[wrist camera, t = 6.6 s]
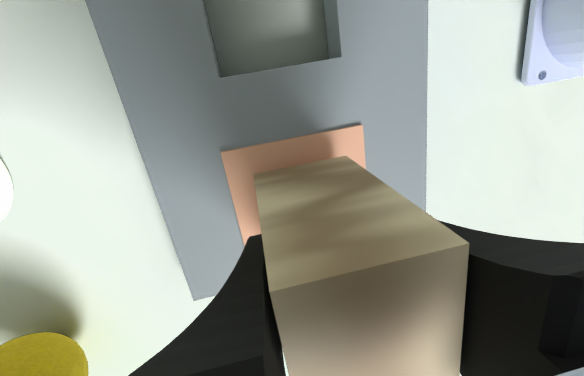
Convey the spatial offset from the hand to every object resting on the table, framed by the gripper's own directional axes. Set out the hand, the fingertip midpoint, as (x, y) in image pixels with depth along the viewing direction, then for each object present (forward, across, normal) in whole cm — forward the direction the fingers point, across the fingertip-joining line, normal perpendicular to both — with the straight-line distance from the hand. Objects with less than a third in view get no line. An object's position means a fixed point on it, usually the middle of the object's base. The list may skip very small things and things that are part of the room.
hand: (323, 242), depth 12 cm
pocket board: (+6, 0, -4) cm, 8 cm away
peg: (+3, 0, 0) cm, 3 cm away
